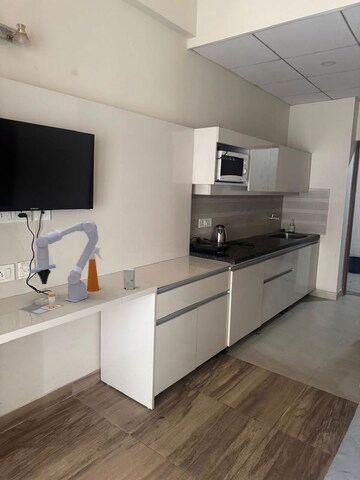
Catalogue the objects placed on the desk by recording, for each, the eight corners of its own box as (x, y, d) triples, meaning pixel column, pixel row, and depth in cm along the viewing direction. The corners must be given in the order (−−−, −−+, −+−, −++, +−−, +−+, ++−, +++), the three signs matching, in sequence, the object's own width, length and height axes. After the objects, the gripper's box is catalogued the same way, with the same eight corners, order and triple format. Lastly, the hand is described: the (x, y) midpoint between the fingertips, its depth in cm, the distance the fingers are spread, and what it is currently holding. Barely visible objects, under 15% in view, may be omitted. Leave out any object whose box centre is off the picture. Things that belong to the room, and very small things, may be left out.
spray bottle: (100, 292, 200) (99, 247, 196) (84, 290, 203) (83, 246, 200) (106, 289, 206) (105, 246, 203) (91, 287, 210) (90, 245, 206)
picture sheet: (43, 302, 184) (43, 301, 184) (63, 307, 177) (63, 305, 177) (18, 311, 171) (18, 309, 171) (39, 316, 164) (39, 314, 164)
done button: (42, 300, 181) (42, 297, 181) (46, 301, 180) (46, 298, 180) (37, 302, 179) (37, 299, 178) (41, 303, 177) (41, 300, 177)
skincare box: (123, 289, 207) (122, 269, 205) (125, 287, 212) (125, 267, 210) (133, 289, 206) (132, 269, 205) (135, 287, 211) (135, 268, 209)
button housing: (42, 301, 183) (42, 298, 182) (48, 303, 180) (48, 299, 180) (35, 304, 179) (35, 300, 178) (41, 305, 176) (41, 302, 176)
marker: (52, 305, 177) (52, 291, 176) (56, 306, 175) (56, 292, 174) (46, 307, 174) (46, 292, 173) (51, 308, 172) (50, 294, 171)
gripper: (49, 255, 189) (50, 279, 191) (26, 260, 177) (27, 285, 178) (58, 257, 186) (59, 281, 188) (35, 261, 173) (36, 287, 175)
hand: (44, 283), depth 183 cm, fingers closed
